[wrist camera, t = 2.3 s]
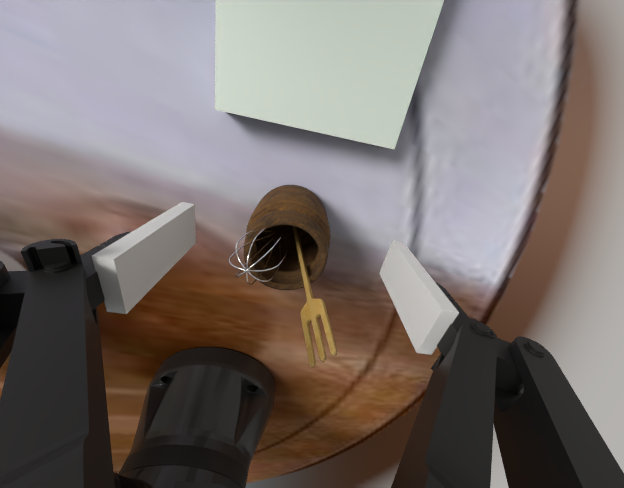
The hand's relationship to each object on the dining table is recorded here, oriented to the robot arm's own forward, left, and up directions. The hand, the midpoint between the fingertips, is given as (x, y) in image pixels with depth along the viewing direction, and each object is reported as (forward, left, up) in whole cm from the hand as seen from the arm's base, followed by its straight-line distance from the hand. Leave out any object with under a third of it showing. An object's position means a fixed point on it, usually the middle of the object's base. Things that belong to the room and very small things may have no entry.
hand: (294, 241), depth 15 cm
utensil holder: (0, 0, -5) cm, 5 cm away
